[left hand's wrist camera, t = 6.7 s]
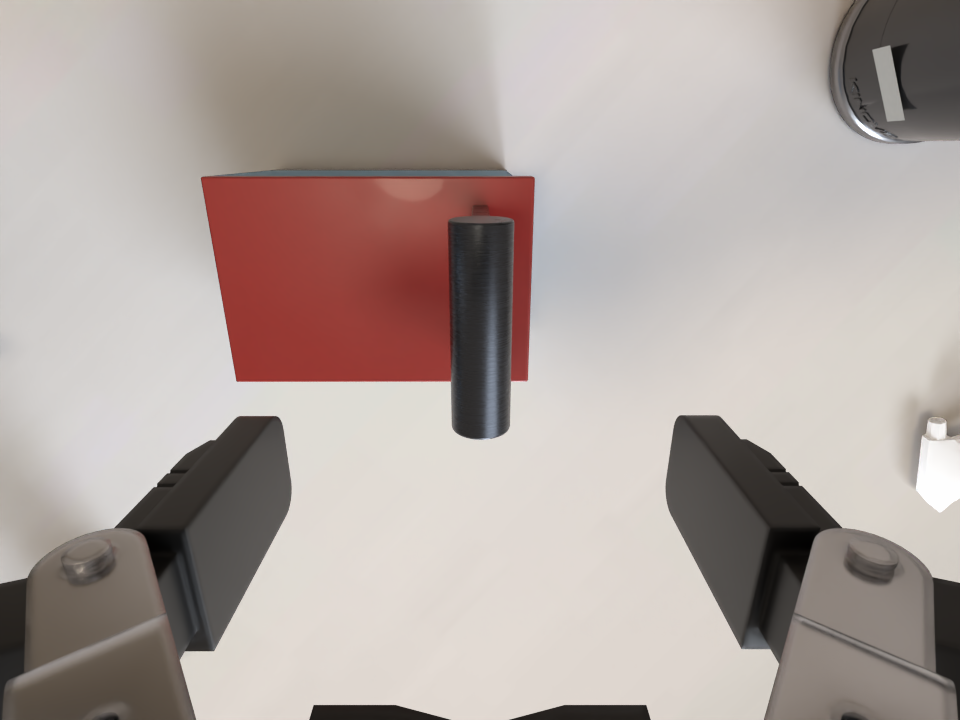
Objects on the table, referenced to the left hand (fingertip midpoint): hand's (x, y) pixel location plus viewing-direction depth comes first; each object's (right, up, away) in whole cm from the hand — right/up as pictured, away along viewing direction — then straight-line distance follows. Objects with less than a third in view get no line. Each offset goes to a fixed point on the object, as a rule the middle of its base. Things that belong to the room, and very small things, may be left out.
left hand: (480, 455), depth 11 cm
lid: (-5, +6, +15) cm, 17 cm away
